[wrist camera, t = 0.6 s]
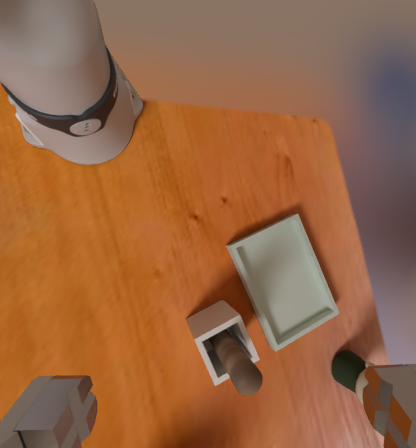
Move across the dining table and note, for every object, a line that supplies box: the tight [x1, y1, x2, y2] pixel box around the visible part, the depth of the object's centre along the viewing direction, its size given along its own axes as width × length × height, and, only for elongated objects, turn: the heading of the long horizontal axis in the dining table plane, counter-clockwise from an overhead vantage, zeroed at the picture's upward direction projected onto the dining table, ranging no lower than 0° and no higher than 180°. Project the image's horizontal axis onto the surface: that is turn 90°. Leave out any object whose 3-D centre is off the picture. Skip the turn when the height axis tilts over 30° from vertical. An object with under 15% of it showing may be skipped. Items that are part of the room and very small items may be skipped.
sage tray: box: [226, 214, 339, 352], centre depth 47 cm, size 20×14×2 cm
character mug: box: [332, 351, 376, 405], centre depth 44 cm, size 11×7×13 cm, turn 26°
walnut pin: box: [208, 329, 262, 396], centre depth 37 cm, size 3×3×16 cm
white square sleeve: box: [186, 300, 260, 386], centre depth 41 cm, size 7×7×9 cm
